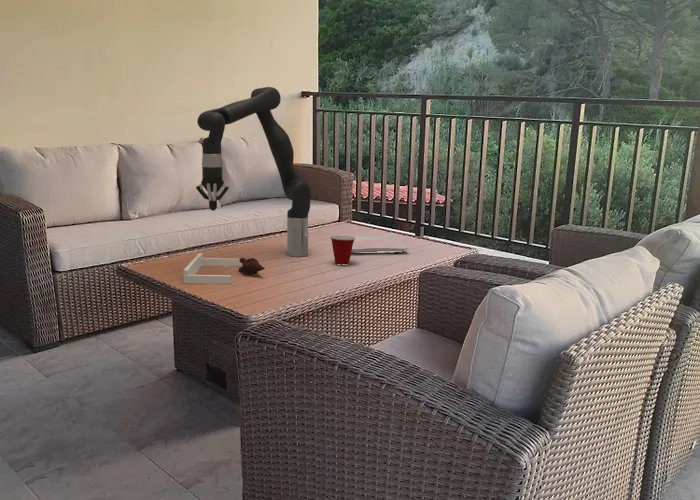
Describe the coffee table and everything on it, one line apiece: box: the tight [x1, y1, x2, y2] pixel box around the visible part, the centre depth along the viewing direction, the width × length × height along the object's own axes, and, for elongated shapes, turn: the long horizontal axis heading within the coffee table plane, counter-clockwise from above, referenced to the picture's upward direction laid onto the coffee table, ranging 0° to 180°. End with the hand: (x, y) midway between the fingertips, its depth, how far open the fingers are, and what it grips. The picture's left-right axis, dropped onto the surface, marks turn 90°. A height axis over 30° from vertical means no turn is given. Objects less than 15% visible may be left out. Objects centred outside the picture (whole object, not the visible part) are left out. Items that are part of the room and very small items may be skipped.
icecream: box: [237, 257, 265, 276], centre depth 250 cm, size 7×7×15 cm
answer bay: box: [183, 252, 243, 285], centre depth 249 cm, size 18×27×5 cm, turn 1°
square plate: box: [351, 235, 409, 253], centre depth 300 cm, size 27×27×4 cm
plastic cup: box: [329, 234, 356, 266], centre depth 269 cm, size 11×11×12 cm
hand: (213, 210), depth 246 cm, fingers closed
